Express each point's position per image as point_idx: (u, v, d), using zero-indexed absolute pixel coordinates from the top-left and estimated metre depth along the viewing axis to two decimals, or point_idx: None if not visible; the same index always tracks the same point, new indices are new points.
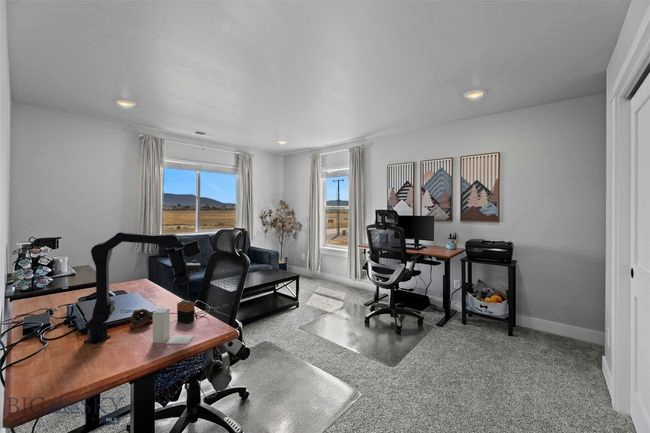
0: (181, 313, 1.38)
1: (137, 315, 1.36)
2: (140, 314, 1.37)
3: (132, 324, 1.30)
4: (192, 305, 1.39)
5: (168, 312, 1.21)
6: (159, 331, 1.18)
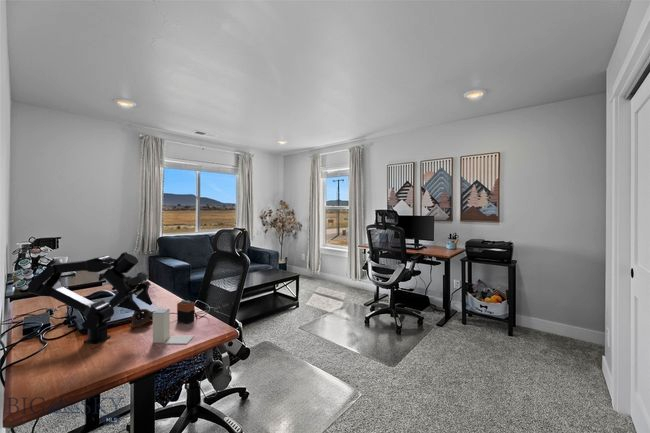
0: (181, 313, 1.38)
1: (138, 315, 1.36)
2: (141, 314, 1.37)
3: (133, 324, 1.30)
4: (192, 305, 1.39)
5: (168, 312, 1.21)
6: (159, 331, 1.18)
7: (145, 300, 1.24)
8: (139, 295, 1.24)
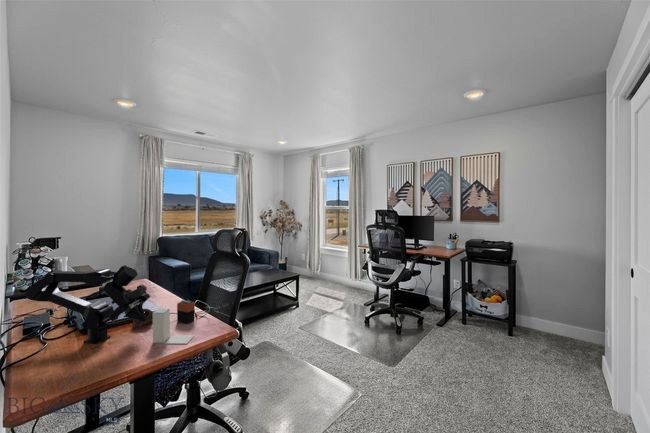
0: (181, 313, 1.38)
1: None
2: None
3: (134, 324, 1.31)
4: (192, 305, 1.39)
5: (168, 312, 1.21)
6: (159, 331, 1.18)
7: None
8: None
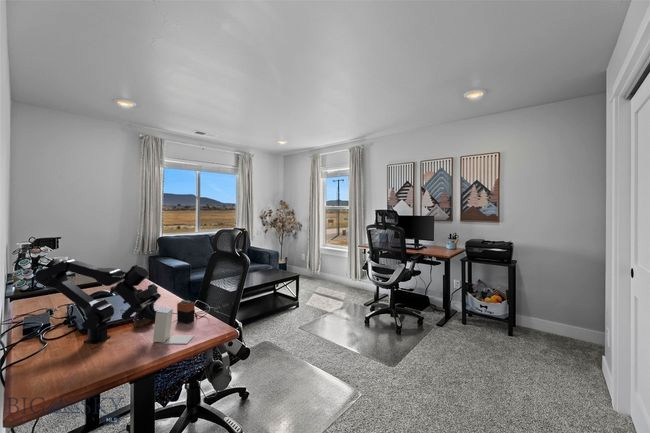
0: (181, 313, 1.38)
1: None
2: None
3: (135, 323, 1.31)
4: (192, 305, 1.39)
5: (171, 312, 1.21)
6: (160, 331, 1.18)
7: None
8: None
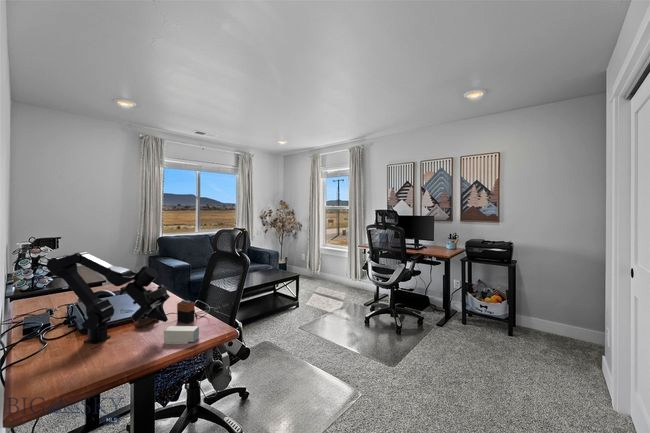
0: (181, 313, 1.38)
1: None
2: (145, 313, 1.39)
3: (138, 323, 1.32)
4: (192, 305, 1.39)
5: None
6: (175, 337, 1.18)
7: None
8: None
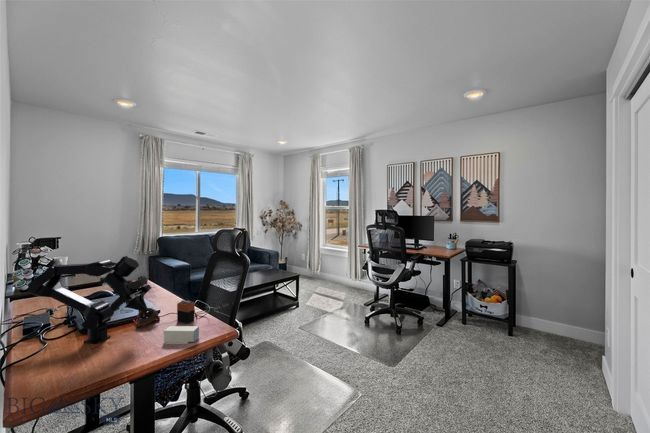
0: (181, 313, 1.38)
1: (143, 314, 1.38)
2: (146, 313, 1.39)
3: (139, 323, 1.32)
4: (192, 305, 1.39)
5: None
6: (175, 337, 1.18)
7: None
8: None
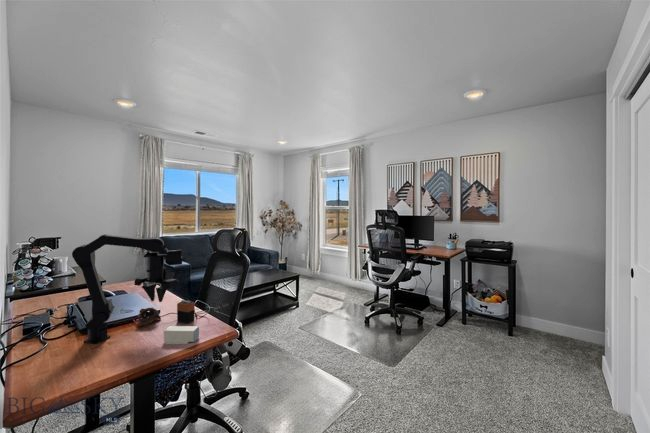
0: (181, 313, 1.38)
1: (144, 314, 1.38)
2: (147, 313, 1.39)
3: (140, 322, 1.32)
4: (192, 305, 1.39)
5: None
6: (175, 337, 1.18)
7: (151, 294, 1.29)
8: (149, 287, 1.28)
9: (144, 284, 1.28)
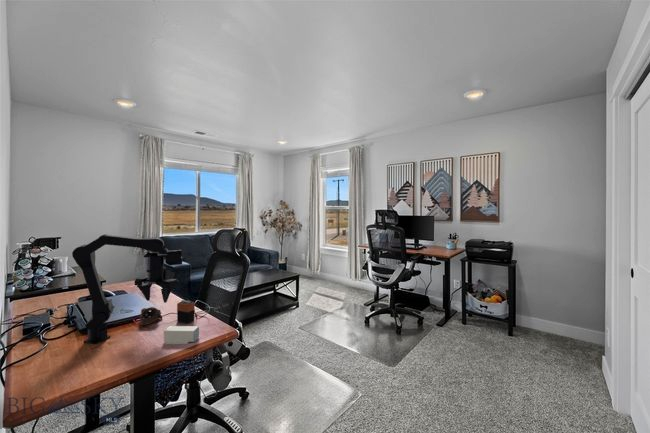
0: (181, 313, 1.38)
1: (145, 313, 1.39)
2: (148, 312, 1.40)
3: (142, 322, 1.33)
4: (192, 305, 1.39)
5: None
6: (175, 337, 1.18)
7: (147, 294, 1.29)
8: (145, 287, 1.29)
9: None
